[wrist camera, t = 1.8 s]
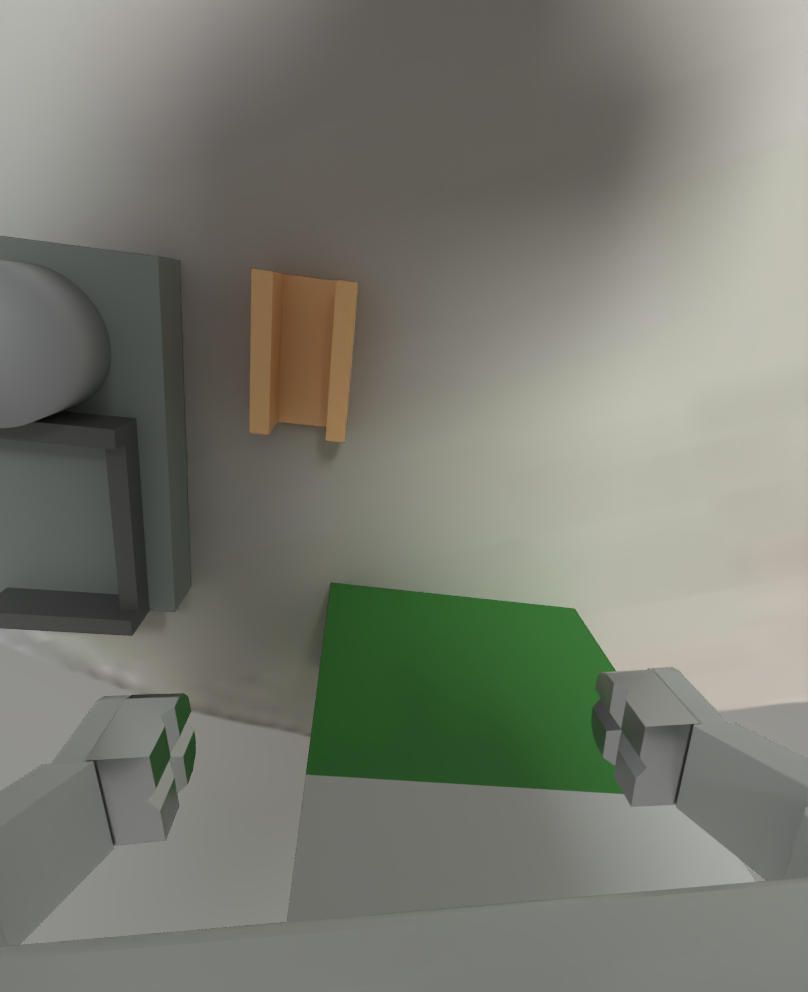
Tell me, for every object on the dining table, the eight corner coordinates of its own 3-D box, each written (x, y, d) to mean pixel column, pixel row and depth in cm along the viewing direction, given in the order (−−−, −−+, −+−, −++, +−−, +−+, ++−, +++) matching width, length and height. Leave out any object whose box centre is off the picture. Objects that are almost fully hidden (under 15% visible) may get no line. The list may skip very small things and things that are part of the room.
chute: (267, 272, 28) (251, 268, 24) (358, 284, 28) (357, 282, 24) (263, 416, 30) (249, 433, 27) (347, 425, 31) (344, 442, 27)
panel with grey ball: (-67, 228, 26) (-214, 205, 19) (179, 260, 27) (119, 249, 20) (-2, 573, 33) (-93, 641, 26) (190, 586, 34) (148, 654, 28)
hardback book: (574, 608, 37) (891, 1088, 15) (548, 689, 39) (781, 1200, 17) (331, 582, 35) (263, 1096, 12) (319, 669, 37) (247, 1223, 15)
